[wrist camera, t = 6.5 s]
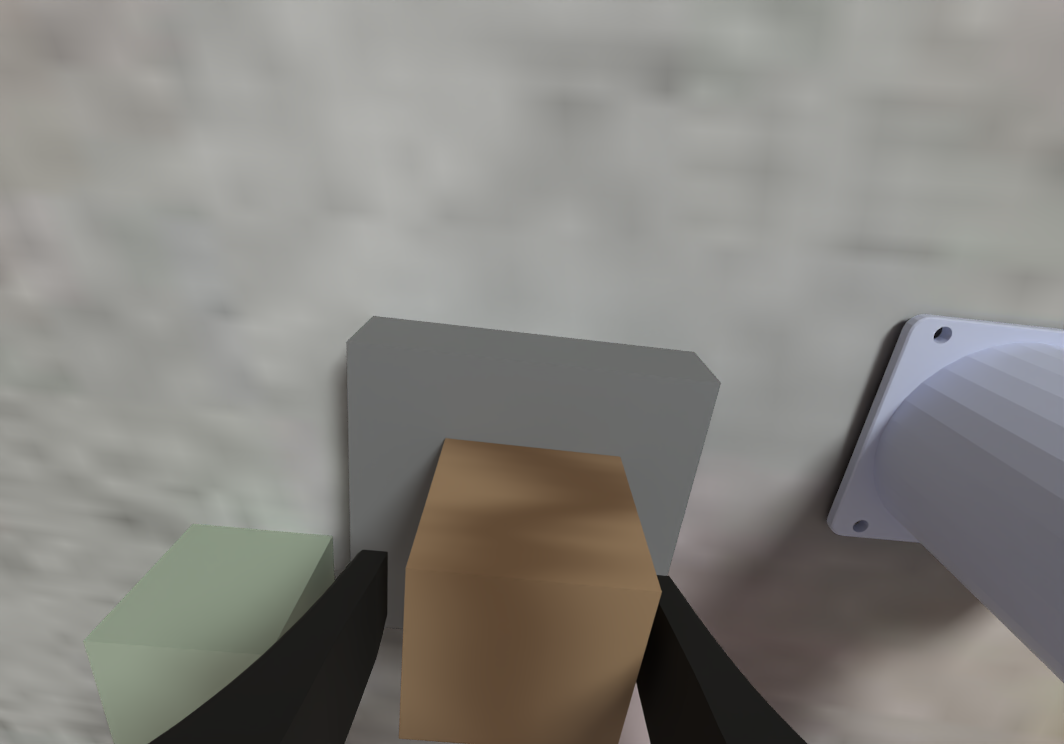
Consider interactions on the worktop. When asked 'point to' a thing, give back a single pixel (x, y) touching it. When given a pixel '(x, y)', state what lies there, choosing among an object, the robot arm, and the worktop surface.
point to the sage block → (201, 622)
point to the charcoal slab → (514, 421)
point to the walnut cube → (525, 599)
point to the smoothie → (634, 723)
